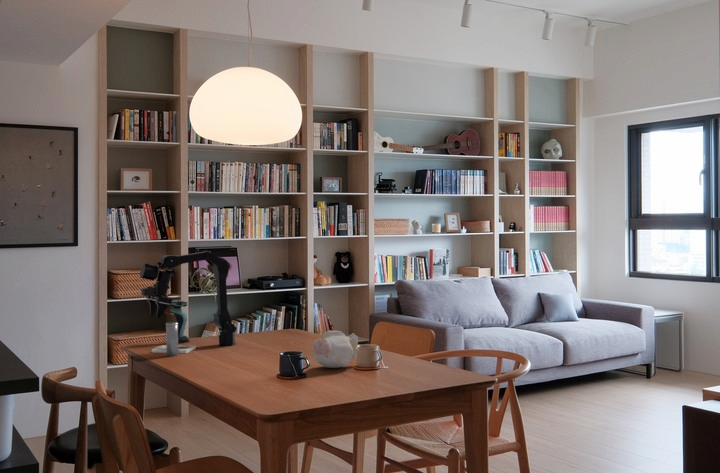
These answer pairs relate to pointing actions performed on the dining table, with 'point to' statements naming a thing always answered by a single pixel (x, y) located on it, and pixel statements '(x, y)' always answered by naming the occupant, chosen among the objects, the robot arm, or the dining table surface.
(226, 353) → the dining table surface
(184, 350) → the dial scale
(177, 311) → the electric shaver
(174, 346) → the metal tumbler
